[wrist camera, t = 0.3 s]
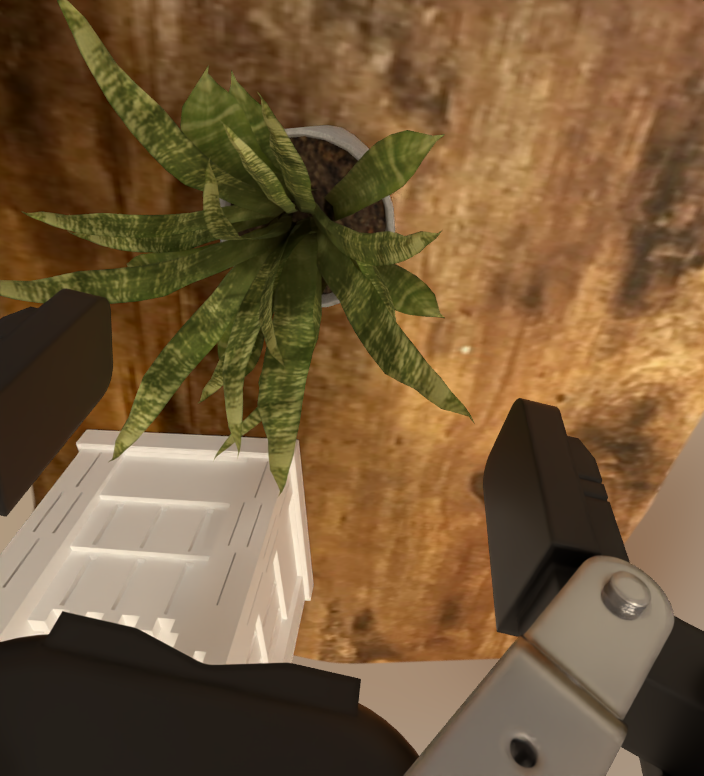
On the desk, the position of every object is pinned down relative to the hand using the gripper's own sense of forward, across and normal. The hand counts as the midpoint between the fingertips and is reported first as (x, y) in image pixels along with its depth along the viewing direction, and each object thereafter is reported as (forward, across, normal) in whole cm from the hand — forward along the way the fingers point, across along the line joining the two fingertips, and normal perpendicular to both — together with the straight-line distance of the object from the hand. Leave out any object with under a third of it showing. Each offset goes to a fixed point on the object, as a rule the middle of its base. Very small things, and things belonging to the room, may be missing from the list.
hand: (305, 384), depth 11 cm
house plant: (+19, +3, +1) cm, 19 cm away
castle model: (+18, +6, +26) cm, 33 cm away
